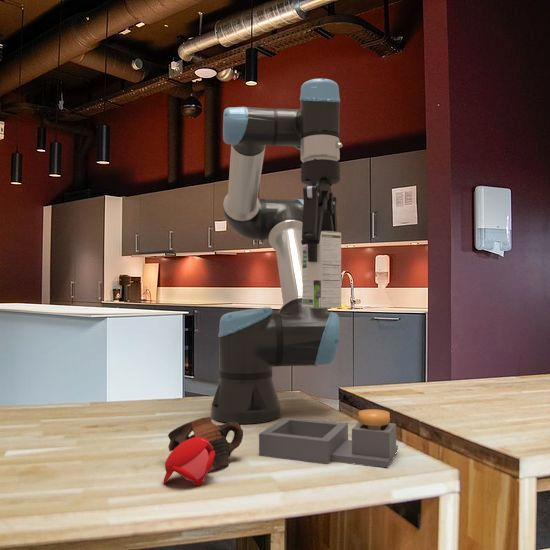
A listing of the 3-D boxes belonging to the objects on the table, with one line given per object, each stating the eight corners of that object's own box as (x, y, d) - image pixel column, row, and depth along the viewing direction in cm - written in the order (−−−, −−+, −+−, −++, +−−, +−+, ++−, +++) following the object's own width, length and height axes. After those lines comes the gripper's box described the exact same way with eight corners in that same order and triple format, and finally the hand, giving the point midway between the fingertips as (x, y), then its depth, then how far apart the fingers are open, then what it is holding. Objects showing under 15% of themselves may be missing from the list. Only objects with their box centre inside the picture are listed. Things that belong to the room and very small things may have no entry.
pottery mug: (184, 482, 76) (165, 429, 79) (177, 490, 84) (160, 441, 87) (258, 450, 81) (237, 401, 84) (244, 461, 89) (226, 415, 92)
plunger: (355, 449, 85) (355, 414, 85) (362, 440, 89) (362, 408, 89) (387, 452, 83) (386, 417, 83) (392, 444, 87) (392, 410, 87)
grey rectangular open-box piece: (259, 455, 87) (258, 424, 87) (285, 436, 98) (285, 409, 98) (386, 471, 79) (385, 437, 79) (399, 448, 90) (398, 419, 90)
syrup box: (300, 307, 102) (300, 233, 102) (326, 307, 104) (325, 234, 105) (316, 308, 97) (315, 230, 97) (343, 308, 99) (342, 231, 100)
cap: (214, 447, 81) (180, 429, 80) (224, 445, 76) (187, 424, 75) (189, 498, 77) (153, 479, 76) (197, 499, 72) (158, 478, 71)
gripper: (322, 146, 90) (323, 279, 90) (352, 171, 109) (353, 281, 109) (282, 151, 93) (283, 280, 93) (318, 174, 112) (319, 281, 112)
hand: (321, 280), depth 101 cm, fingers closed on syrup box, 8 cm apart
